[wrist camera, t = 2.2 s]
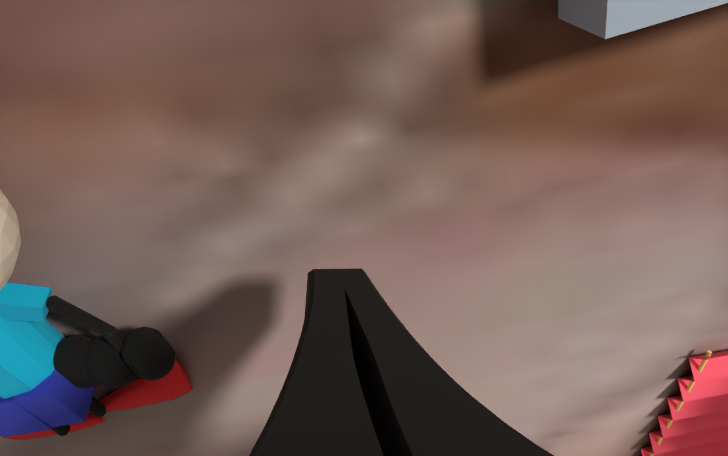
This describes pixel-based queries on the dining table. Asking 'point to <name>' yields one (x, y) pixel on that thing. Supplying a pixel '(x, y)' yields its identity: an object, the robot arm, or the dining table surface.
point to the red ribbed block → (696, 412)
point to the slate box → (626, 13)
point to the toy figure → (69, 358)
